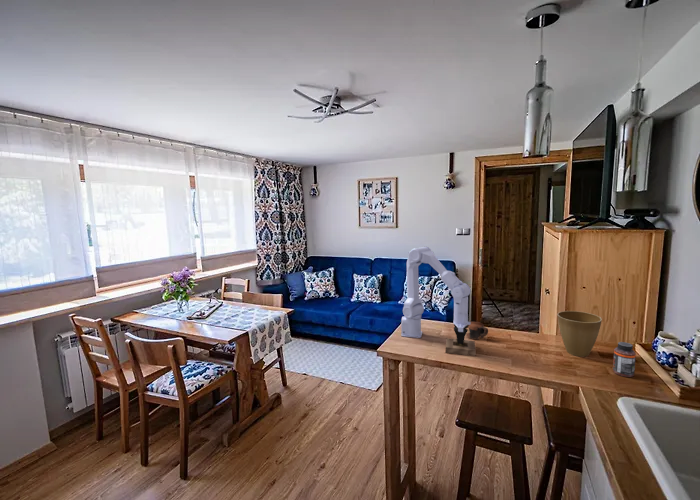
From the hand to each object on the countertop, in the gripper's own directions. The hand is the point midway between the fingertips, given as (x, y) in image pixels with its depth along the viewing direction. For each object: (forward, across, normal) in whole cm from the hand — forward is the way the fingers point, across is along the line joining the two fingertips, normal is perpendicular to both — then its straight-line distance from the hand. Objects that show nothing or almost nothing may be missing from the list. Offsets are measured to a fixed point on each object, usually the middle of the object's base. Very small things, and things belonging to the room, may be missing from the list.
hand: (460, 342), depth 140 cm
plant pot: (+4, +9, -46) cm, 47 cm away
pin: (+2, 0, 0) cm, 2 cm away
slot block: (+3, 0, 0) cm, 3 cm away
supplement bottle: (+4, -6, -56) cm, 56 cm away
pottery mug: (+4, +17, -8) cm, 19 cm away
